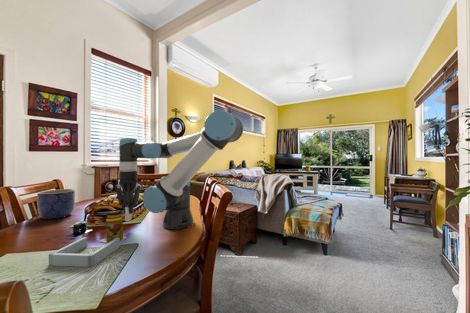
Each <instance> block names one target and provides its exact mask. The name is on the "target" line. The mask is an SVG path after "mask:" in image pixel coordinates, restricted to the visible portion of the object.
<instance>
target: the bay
mask: <svg viewBox="0 0 470 313" xmlns="http://www.w3.org/2000/svg"><path fill="white" fill-rule="evenodd" d="M120 242H121V241H120V238H116V239H114V240H112V241H111V242H109V243H106V244H104V245H103V246H101V247H100V248H99V247H98V249H96V250H95V251H93V252H92V253H78V252H79V251H81V250H83V249H85V248H87V246H88V237H87V236H86V237H85V236H84V237H82V238H80V239H77V240H75V241H73V242H72V243H69V244H68V245H65V246H63V247H61V248H60V249H57V250H55V251H52V253H49V254H48V266H51V267H52V266H53V267H54V266H57V267H84V268H86V267H87V268H92V267H94V266H95V265H96V264H98V263H99V262H101V261H102V260H103V259H105V258H106V257H108V256H109V255H111V254H112V253H113V252H115V251H116V250H118V249H119V248H120V246H121V245H120Z"/></svg>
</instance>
